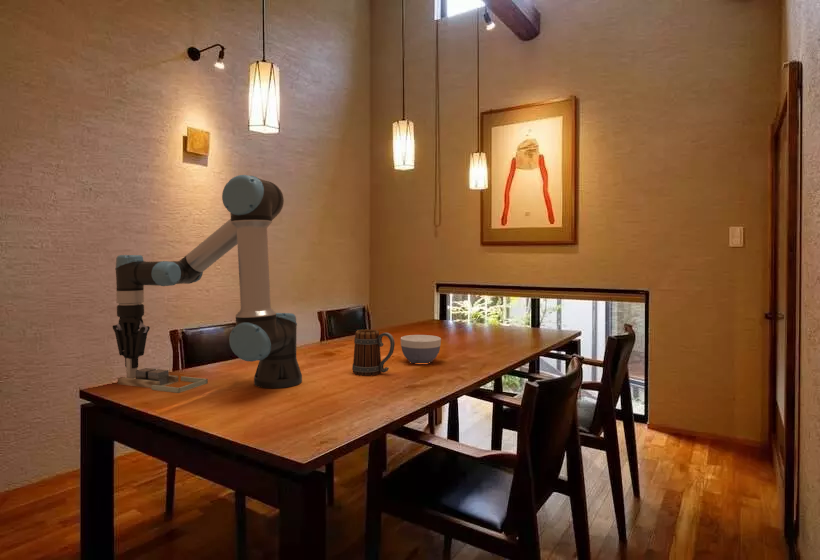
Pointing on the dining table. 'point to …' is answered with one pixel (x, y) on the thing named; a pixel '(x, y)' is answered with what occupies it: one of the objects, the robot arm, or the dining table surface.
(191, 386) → the grey rectangular frame
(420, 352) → the bowl
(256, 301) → the robot arm
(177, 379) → the slot board
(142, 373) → the chip
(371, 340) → the mug
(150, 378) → the chip
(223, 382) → the dining table surface
